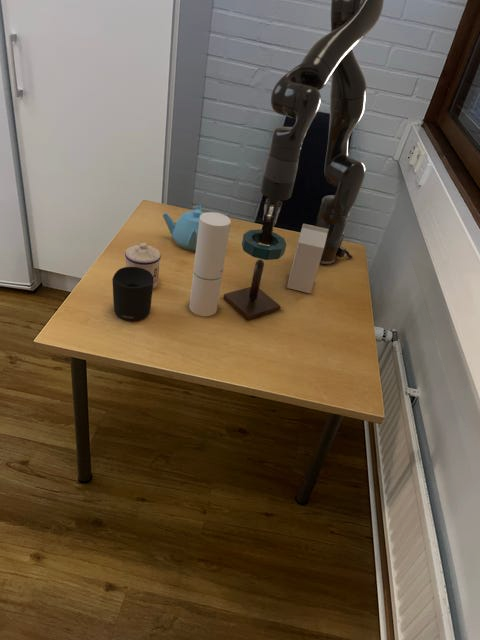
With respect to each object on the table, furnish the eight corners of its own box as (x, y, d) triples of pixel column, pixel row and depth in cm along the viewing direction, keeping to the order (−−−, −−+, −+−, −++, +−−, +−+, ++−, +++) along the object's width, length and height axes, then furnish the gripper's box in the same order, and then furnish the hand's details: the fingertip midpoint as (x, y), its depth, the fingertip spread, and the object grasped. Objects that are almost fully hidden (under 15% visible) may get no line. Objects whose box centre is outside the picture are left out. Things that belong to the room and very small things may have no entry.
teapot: (189, 258, 140) (193, 226, 134) (159, 237, 148) (161, 205, 142) (226, 247, 150) (231, 216, 144) (196, 228, 158) (199, 198, 151)
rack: (254, 289, 132) (263, 246, 124) (279, 310, 126) (290, 266, 118) (223, 298, 126) (230, 253, 118) (247, 320, 119) (257, 275, 112)
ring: (265, 236, 122) (267, 226, 121) (292, 255, 116) (295, 245, 114) (233, 242, 116) (234, 232, 115) (259, 263, 110) (262, 253, 108)
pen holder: (104, 309, 114) (104, 274, 108) (135, 296, 120) (136, 262, 114) (128, 328, 110) (129, 292, 104) (159, 313, 116) (161, 279, 110)
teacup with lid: (157, 293, 123) (160, 254, 116) (122, 290, 122) (122, 250, 115) (161, 270, 132) (163, 233, 126) (128, 266, 131) (129, 229, 124)
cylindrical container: (220, 305, 123) (235, 217, 109) (210, 319, 117) (224, 228, 103) (195, 297, 124) (206, 209, 110) (184, 310, 119) (194, 220, 104)
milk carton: (310, 294, 135) (328, 234, 124) (286, 288, 136) (301, 228, 124) (312, 282, 141) (329, 224, 130) (289, 276, 141) (304, 218, 130)
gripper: (268, 163, 115) (255, 227, 125) (259, 181, 104) (246, 249, 114) (297, 170, 115) (282, 234, 125) (292, 188, 103) (276, 257, 114)
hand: (265, 241), depth 119 cm, fingers closed on ring, 2 cm apart
